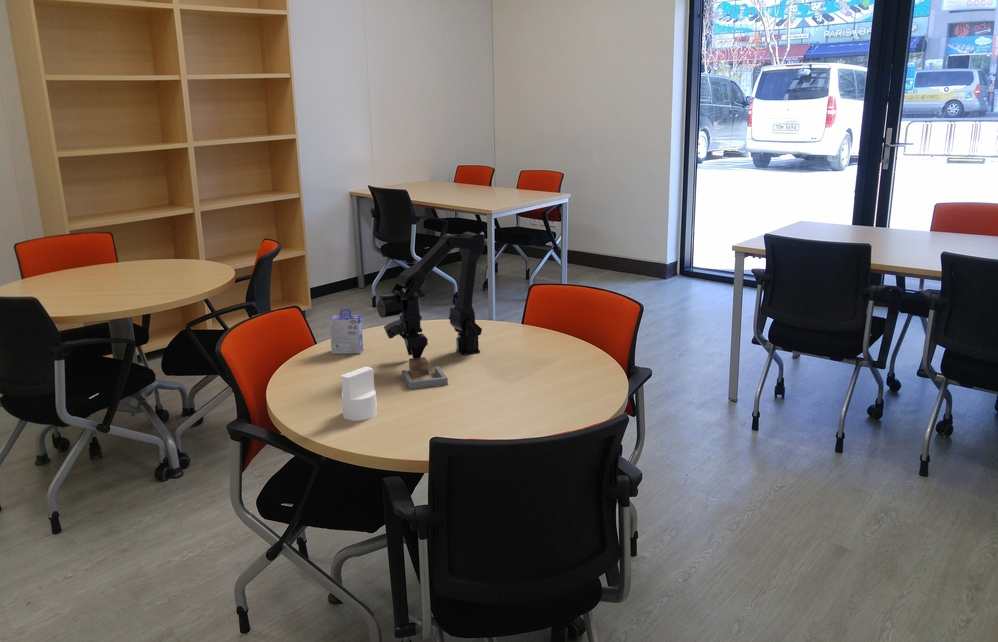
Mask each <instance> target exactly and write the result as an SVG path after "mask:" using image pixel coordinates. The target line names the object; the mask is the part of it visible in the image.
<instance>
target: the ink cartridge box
mask: <svg viewBox="0 0 998 642" xmlns="http://www.w3.org/2000/svg"><path fill="white" fill-rule="evenodd" d="M328 320H329V334H330V335H329V336H330V345H331V346H330V347H331V354H332V355H333V354H335V355H336V354H337V355H338V354H339V355H341V354H345V355H346V354H347V355H349V354H350V355H351V354H352V355H353V354H361V353H362V352H363V350H364V340H363V339H364V338H363V324H362V323H363V322H362V314H352V308H340V310H339V314H338V315H336V314H334V315H332V316H330V318H329V319H328Z"/></svg>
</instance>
